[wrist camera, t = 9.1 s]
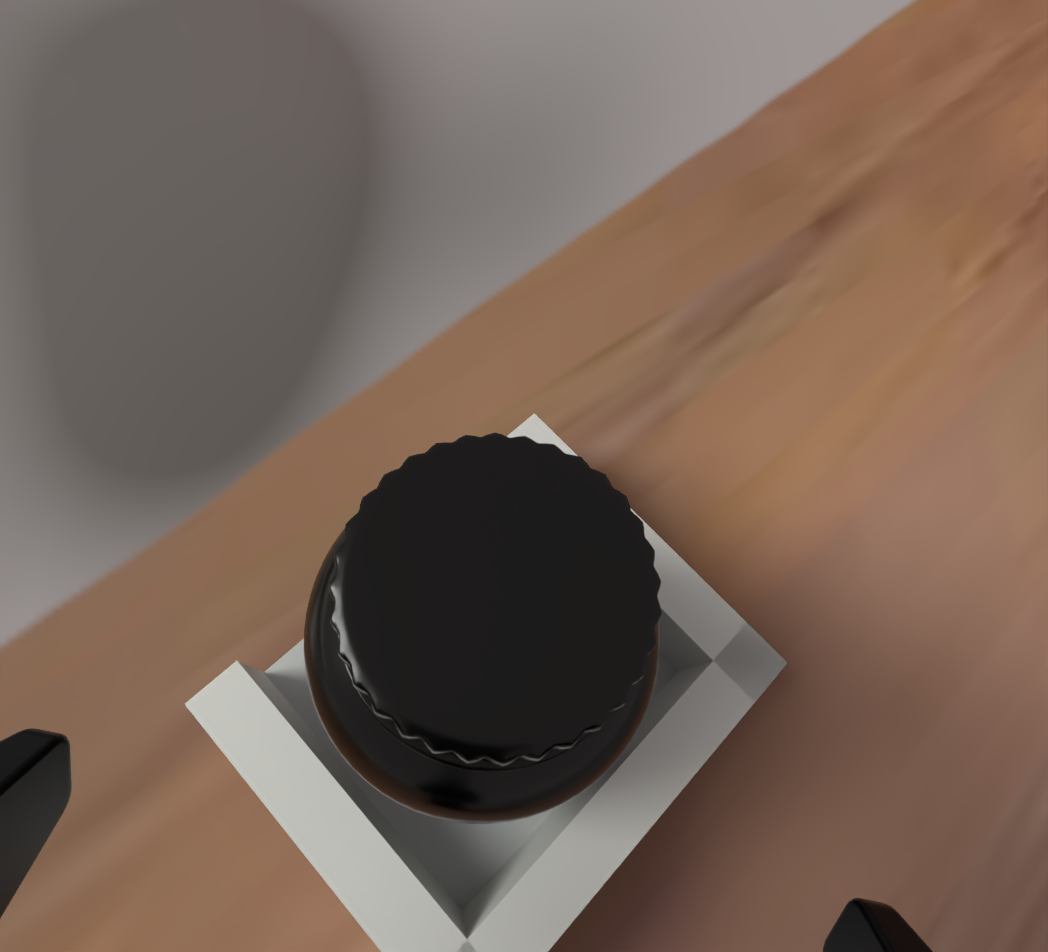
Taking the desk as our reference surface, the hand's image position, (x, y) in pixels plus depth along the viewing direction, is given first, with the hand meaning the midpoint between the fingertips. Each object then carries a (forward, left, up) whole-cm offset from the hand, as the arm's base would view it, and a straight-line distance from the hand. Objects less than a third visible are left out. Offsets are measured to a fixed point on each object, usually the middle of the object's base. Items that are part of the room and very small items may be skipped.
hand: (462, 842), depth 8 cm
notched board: (+3, 0, -13) cm, 14 cm away
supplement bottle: (+3, 0, -13) cm, 13 cm away
